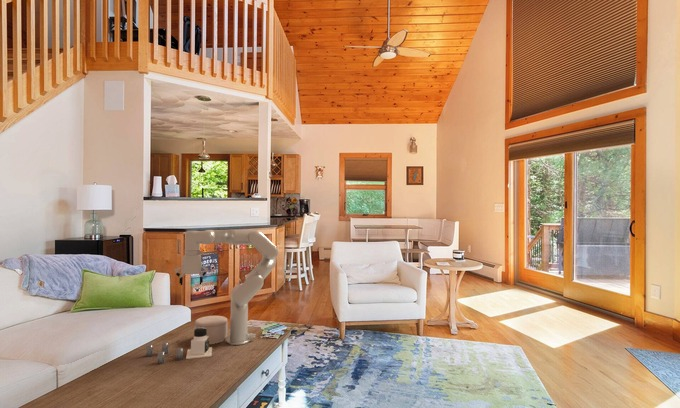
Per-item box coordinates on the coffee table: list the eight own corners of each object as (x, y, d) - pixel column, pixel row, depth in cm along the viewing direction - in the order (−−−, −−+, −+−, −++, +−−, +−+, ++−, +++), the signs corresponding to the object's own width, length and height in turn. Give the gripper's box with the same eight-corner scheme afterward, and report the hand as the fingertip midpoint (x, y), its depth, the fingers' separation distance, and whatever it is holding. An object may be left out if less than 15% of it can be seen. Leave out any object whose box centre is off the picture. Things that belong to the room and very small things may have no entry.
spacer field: (185, 350, 191) (185, 340, 191) (182, 361, 176) (182, 351, 176) (147, 353, 186) (147, 343, 186) (140, 366, 170) (140, 355, 171)
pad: (212, 348, 195) (212, 347, 195) (211, 356, 183) (211, 355, 183) (187, 350, 191) (188, 349, 191) (185, 359, 179) (185, 357, 179)
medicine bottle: (204, 354, 184) (205, 330, 184) (190, 354, 184) (191, 330, 184) (208, 349, 191) (209, 326, 191) (195, 349, 191) (195, 326, 191)
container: (199, 347, 195) (199, 325, 195) (190, 338, 209) (190, 318, 210) (231, 341, 206) (232, 320, 206) (221, 332, 220) (221, 313, 221)
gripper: (209, 252, 205) (208, 282, 205) (175, 252, 200) (174, 283, 199) (208, 253, 198) (207, 285, 198) (174, 254, 193) (173, 286, 192)
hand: (191, 284), depth 198 cm, fingers open, 9 cm apart
